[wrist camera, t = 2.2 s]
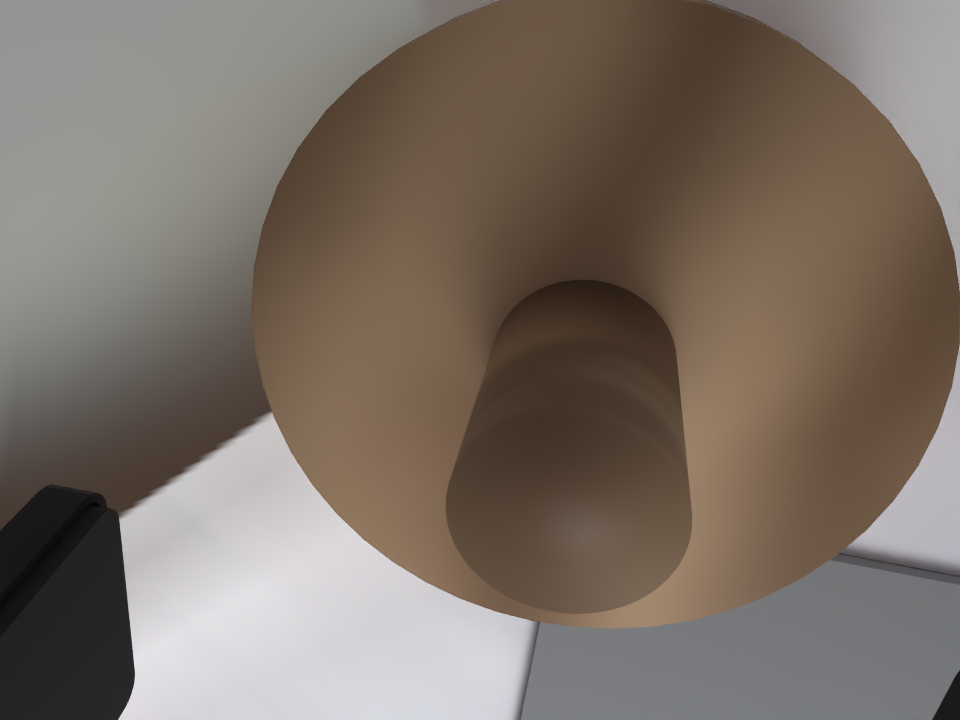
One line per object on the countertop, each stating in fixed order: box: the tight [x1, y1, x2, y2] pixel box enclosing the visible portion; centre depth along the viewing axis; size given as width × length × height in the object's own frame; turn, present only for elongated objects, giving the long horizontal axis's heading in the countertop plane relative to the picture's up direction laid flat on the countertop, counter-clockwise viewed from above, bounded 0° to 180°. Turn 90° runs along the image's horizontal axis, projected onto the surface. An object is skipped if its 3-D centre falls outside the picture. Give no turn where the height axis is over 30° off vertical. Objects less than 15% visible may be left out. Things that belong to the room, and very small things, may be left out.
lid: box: [252, 0, 960, 629], centre depth 16 cm, size 14×14×6 cm
